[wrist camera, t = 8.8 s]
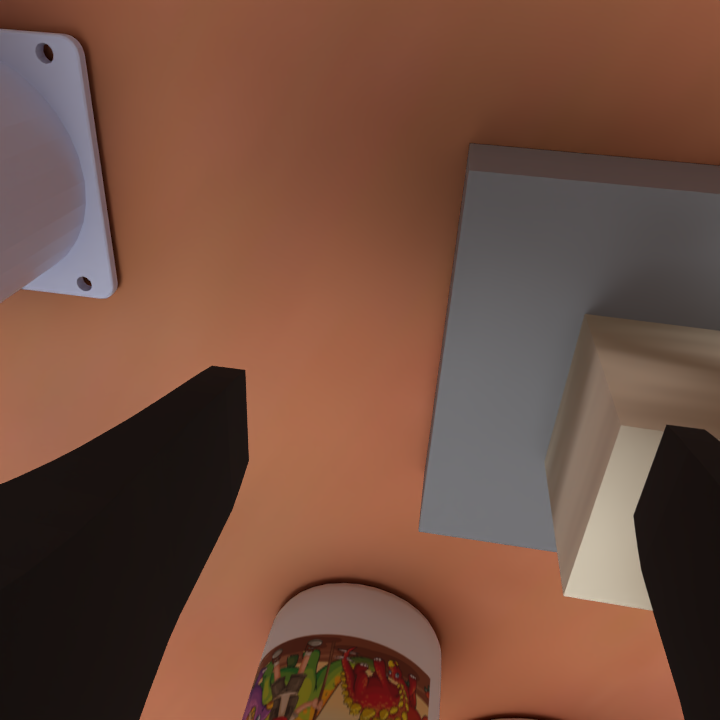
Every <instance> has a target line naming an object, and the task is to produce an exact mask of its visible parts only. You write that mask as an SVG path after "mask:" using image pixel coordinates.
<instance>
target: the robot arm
mask: <svg viewBox="0 0 720 720" xmlns="http://www.w3.org/2000/svg"><path fill="white" fill-rule="evenodd" d="M45 44H47V45H48V46H49V47H50V48H51V49H52V51H53V54H54V55H53V60H52V61H49V60H48V59H47V58H46V57H45V54H44V52H43V49H44V45H45ZM83 277H86V278H88V279H89V280H90V281H91V284H92V286H89V285H87V284H86V283H85V282H84V280H83ZM117 286H118V282H117V275H116V268H115V261H114V254H113V247H112V240H111V233H110V226H109V219H108V212H107V205H106V198H105V192H104V185H103V178H102V171H101V164H100V157H99V150H98V143H97V136H96V129H95V122H94V115H93V108H92V101H91V95H90V88H89V81H88V74H87V67H86V60H85V54H84V51H83V48H82V46H81V44H80V43H79V42H78V40H76V39H75V38H74V37H73V36H71V35H67V34H61V33H49V32H36V31H23V30H11V29H0V303H1V302H3V301H4V300H6V299H7V298H8V297H10V296H11V295H13V294H14V293H16V292H17V291H19V290H20V289H26V290H34V291H42V292H51V293H59V294H67V295H76V296H84V297H92V298H100V299H103V298H108V297H110V296H111V295H112V294H113V293H115V291H116V290H117ZM248 462H249V453H248V428H247V402H246V377H245V370H241V369H233V368H225V367H218V366H211V367H209V368H208V369H206V370H204V371H202V372H201V373H199V374H198V375H196V376H195V377H193V378H191V379H190V380H188V381H187V382H185V383H184V384H182V385H181V386H179V387H178V388H176V389H175V390H173V391H172V392H170V393H169V394H167V395H166V396H164V397H162V398H161V399H159V400H158V401H156V402H155V403H153V404H151V405H150V406H148V407H147V408H145V409H144V410H142V411H140V412H139V413H137V414H136V415H134V416H133V417H131V418H129V419H128V420H126V421H124V422H123V423H121V424H119V425H117V426H116V427H114V428H112V429H110V430H109V431H107V432H105V433H103V434H102V435H100V436H98V437H96V438H95V439H93V440H91V441H89V442H88V443H86V444H84V445H82V446H81V447H79V448H77V449H75V450H73V451H71V452H69V453H67V454H65V455H63V456H61V457H59V458H57V459H55V460H53V461H51V462H49V463H47V464H45V465H43V466H41V467H39V468H36V469H34V470H32V471H30V472H28V473H26V474H23V475H21V476H19V477H17V478H14V479H12V480H10V481H8V482H5V483H2V484H0V720H139V719H140V716H141V713H142V711H143V708H144V705H145V702H146V699H147V697H148V694H149V691H150V688H151V686H152V683H153V680H154V678H155V675H156V673H157V670H158V667H159V665H160V662H161V659H162V657H163V654H164V651H165V649H166V646H167V643H168V641H169V638H170V636H171V634H172V632H173V629H174V627H175V625H176V623H177V620H178V618H179V616H180V614H181V612H182V610H183V608H184V606H185V604H186V602H187V600H188V598H189V596H190V594H191V592H192V590H193V588H194V586H195V584H196V582H197V580H198V578H199V576H200V574H201V572H202V570H203V568H204V566H205V564H206V562H207V560H208V558H209V556H210V554H211V552H212V550H213V548H214V546H215V544H216V542H217V540H218V538H219V536H220V534H221V532H222V530H223V527H224V525H225V523H226V521H227V519H228V517H229V515H230V513H231V511H232V509H233V506H234V503H235V500H236V498H237V495H238V492H239V489H240V486H241V483H242V480H243V477H244V474H245V471H246V468H247V465H248ZM633 518H634V526H635V533H636V541H637V548H638V554H639V560H640V566H641V571H642V575H643V578H644V582H645V586H646V589H647V592H648V596H649V599H650V603H651V606H652V609H653V613H654V616H655V620H656V623H657V626H658V629H659V633H660V636H661V639H662V643H663V646H664V649H665V653H666V656H667V659H668V663H669V666H670V669H671V672H672V676H673V679H674V682H675V686H676V689H677V692H678V696H679V699H680V703H681V707H682V711H683V715H684V719H685V720H720V441H719V440H718V439H717V438H715V437H714V436H713V435H712V434H710V433H709V432H708V431H706V430H705V429H698V428H690V427H682V426H674V425H667V424H666V427H665V430H664V433H663V435H662V438H661V441H660V444H659V446H658V449H657V452H656V455H655V457H654V460H653V463H652V466H651V468H650V471H649V474H648V476H647V479H646V482H645V485H644V487H643V490H642V493H641V496H640V498H639V501H638V504H637V507H636V509H635V512H634V515H633Z"/></svg>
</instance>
